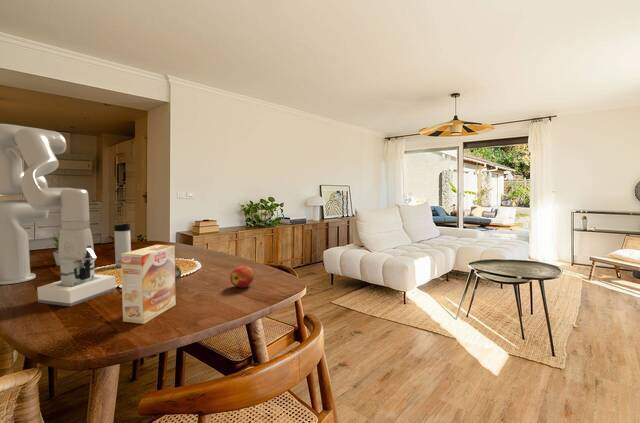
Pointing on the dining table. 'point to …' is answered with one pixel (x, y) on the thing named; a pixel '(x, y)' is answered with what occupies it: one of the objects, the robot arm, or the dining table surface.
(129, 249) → the travel mug
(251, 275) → the apple
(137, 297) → the coffeecake box
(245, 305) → the dining table surface
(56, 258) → the house plant
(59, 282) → the holder block
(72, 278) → the ink box
